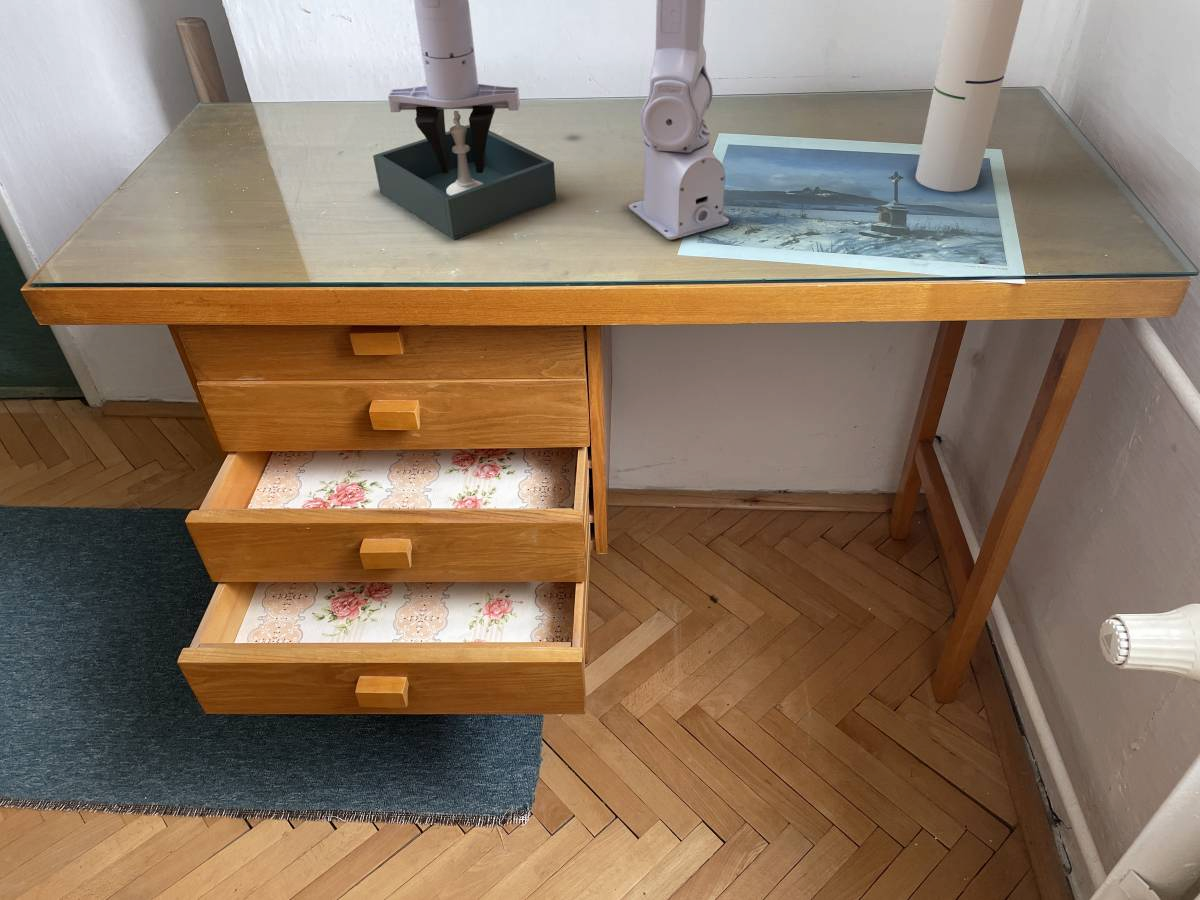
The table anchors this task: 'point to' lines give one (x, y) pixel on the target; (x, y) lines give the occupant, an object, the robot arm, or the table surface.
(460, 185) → the chess piece
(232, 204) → the table surface
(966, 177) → the cylindrical container
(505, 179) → the dark green open box
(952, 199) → the table surface
